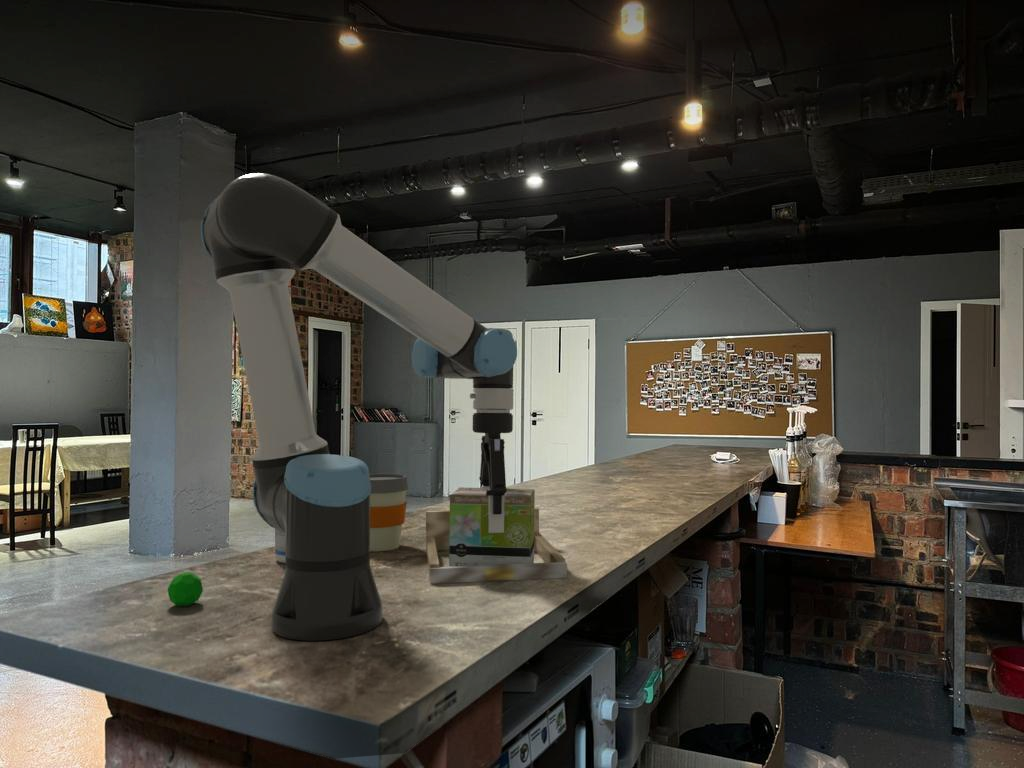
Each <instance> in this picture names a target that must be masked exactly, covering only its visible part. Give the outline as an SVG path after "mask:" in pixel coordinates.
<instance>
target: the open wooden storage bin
mask: <svg viewBox="0 0 1024 768" xmlns="http://www.w3.org/2000/svg"><path fill="white" fill-rule="evenodd" d="M449 516H450V509H447V510H446V509H445V510H425V553H426V560H427V568H428V577H429V583H430V585H431V584H452V583H453V584H455V583H457V584H458V583H479V582H480V583H481V582H496V581H497V582H499V581H501V582H502V581H520V580H547V579H548V580H549V579H565V578H566V579H567V578H568V576H567V575H568V571H567V569H568V567H567V566H568V564H567V562H566V558H565V557H564V556H563V555H562V554H561V553H560V552H559V551H558V550H557V549H556V547H554V546H553V545H552V544H551V543H550V542H549V541H548V540H547V539H546V538H545V536H543V535H542V534H541V533H540V508H539V507H535V508H534V552H535V553H536V554H537V555H538V557H540V558H541V560H542V561H543V562H536V563H535V562H534V563H527V564H502V565H477V566H453V567H449V566H440V561H439V556H438V551H449Z"/></svg>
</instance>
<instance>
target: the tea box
mask: <svg viewBox="0 0 1024 768" xmlns="http://www.w3.org/2000/svg"><path fill="white" fill-rule="evenodd" d="M506 488H507V487H506ZM487 490H490V488H481V487H466V486H465V487H463V486H462V487H458V488H457V489H456V490H455V491H454V492H453V493H451V494H450V495H449V510H450V516H449V550H448V567H453V566H477V565H502V564H527V563H535V561H534V560H535V550H534V508H536V507H535V506H536V505H535V502H536V501H535V499H536V498H535V488H534V489H533V488H507V491H506V493H505V494H504V533H489V532H488V516H489V496H486V491H487Z"/></svg>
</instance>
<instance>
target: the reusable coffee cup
mask: <svg viewBox="0 0 1024 768" xmlns="http://www.w3.org/2000/svg"><path fill="white" fill-rule="evenodd" d="M407 477H408V476H407V475H405V474H399V473H369V478H370V483H371V491H370V552H384V551H385V552H386V551H392V550H396V549H398V548H400V547H401V546H400V545H401V536H402V530H403V529H402V528H403V525H404V524H405V519H406V513H407V512H406V511H407V510H406V509H407V504H408V503H407V501H406V496H407V491H408V489H409V487H408V486H409V485H408V478H407Z"/></svg>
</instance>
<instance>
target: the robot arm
mask: <svg viewBox="0 0 1024 768" xmlns="http://www.w3.org/2000/svg"><path fill="white" fill-rule="evenodd" d="M200 235H201V236H200V237H201V242H202V245H203V248H204V250H205V251H206V253H207V255H208V256H209V258H210V259H211V260H212V264H213V268H214V274H215V278H216V279H215V280H216V283H217V284H218V285H220V286H221V287H223V288H224V289H226V290H227V291H228V293H229V295H230V300H231V305H232V310H233V315H234V321H235V325H236V326H235V327H236V331H237V337H238V341H239V347H240V351H241V356H242V362H243V366H244V371H245V377H246V381H247V387H248V392H249V397H250V402H251V403H250V404H251V408H252V413H253V418H254V422H255V427H256V432H257V438H258V447H257V448H256V450H255V451H254V453H253V454H252V456H251V461H252V469H253V473H254V478H255V479H254V482H253V486H252V501H253V504H254V507H255V509H256V512H257V513H258V515H259V517H260V518H261V519H262V520H263V521H264V522H265V523H266V524H267V525H268V526H270V528H274V530H275V529H277V530H278V531H281V532H285V556H286V563H284V564H285V567H284V568H285V569H284V575H283V578H282V580H281V585H280V588H279V590H278V594H277V595H276V600H275V602H274V606H273V608H272V609H273V610H272V613H271V629H272V632H273V633H274V634H275V635H277V636H279V637H283V638H286V639H290V640H297V641H328V640H329V641H331V640H338V639H343V638H349V637H353V636H357V635H361V634H363V633H367V632H369V631H372V630H373V629H375V628H377V627H378V626H380V624H381V623H382V621H383V603H382V600H381V599H382V598H381V596H380V593H379V590H378V587H377V584H376V581H375V578H374V575H373V572H372V569H371V551H370V491H371V483H370V478H369V474H370V471H369V466H368V465H367V463H365V461H363V460H362V459H359V458H357V457H353V456H348V455H345V456H343V455H340V454H330V450H329V445H328V441H327V440H325V439H324V438H322V437H320V436H319V435H318V434H317V433H316V429H315V423H314V419H313V413H312V408H311V400H310V397H309V391H308V386H307V380H306V377H305V376H306V375H305V369H304V364H303V359H302V355H301V349H300V348H301V347H300V344H299V343H300V342H299V339H298V337H299V336H298V332H297V327H296V322H295V321H296V320H295V316H294V311H293V306H292V300H291V295H290V290H289V283H290V281H291V280H292V279H293V277H294V276H295V275H296V268H298V269H299V270H301V271H305V270H309V269H310V270H314V271H315V272H317V273H319V274H320V275H321V276H323V277H324V278H326V279H328V280H330V281H331V282H332V283H334V284H335V285H336V286H338V287H340V288H341V289H342V290H344V291H345V292H348V293H349V294H350V295H352V296H353V297H355V298H356V299H358V300H359V301H361V302H363V303H364V304H366V305H367V306H369V307H371V308H372V309H373V310H375V311H376V312H377V313H379V314H381V315H383V316H384V317H386V318H387V319H388V320H390V321H392V322H393V323H395V324H396V325H397V326H399V327H401V328H403V330H406V331H407V332H409V333H410V334H411V335H413V336H414V337H416V338H417V339H416V340H415V342H414V345H413V347H412V352H411V363H412V368H413V370H414V372H415V374H416V375H417V376H419V377H421V378H429V379H433V380H435V379H449V380H450V379H451V380H452V379H453V380H455V379H456V380H457V379H463V380H465V379H467V380H472V384H473V385H472V388H473V389H472V391H473V393H470V394H469V398H470V399H473V401H472V408H473V410H474V411H475V410H476V411H475V412H473V414H472V431H473V432H474V433H476V434H484V435H482V437H481V443H480V451H481V454H480V457H481V458H480V471H479V478H478V480H479V482H480V485H481V486H480V488H490V490H487V491H486V496H489V516H488V532H489V533H504V494H505V493H506V491H507V487H506V486H507V483H506V465H505V463H506V462H505V443H506V441H505V439H503V438H501V437H502V436H501V434H511V433H512V432H513V428H514V425H513V424H514V422H513V421H514V415H513V414H512V412H511V411H512V410H513V409H514V365H515V364H516V361H517V357H518V347H517V346H518V345H517V344H516V343H517V342H516V341H515V338H514V336H513V333H512V332H511V330H509V329H506V328H495V327H493V328H492V327H491V328H490V327H485V326H484V325H483V324H481V322H479V321H476V320H475V319H474V318H472V316H470V315H468V314H466V313H465V312H464V311H463V310H462V309H460V308H458V307H457V306H455V304H453V303H452V302H451V301H448V300H447V299H446V298H444V297H443V296H442V295H440V294H439V293H437V292H436V291H435V290H433V289H432V288H431V287H429V286H428V285H426V284H425V283H424V282H422V281H421V280H419V279H418V278H416V277H415V276H413V275H412V274H411V273H409V272H408V271H406V270H405V269H404V268H402V267H401V266H400V265H398V264H397V263H396V262H394V261H392V260H391V259H390V258H388V257H387V256H385V255H384V254H383V253H382V252H380V251H379V250H377V249H376V248H374V247H373V246H371V245H370V244H368V243H367V242H366V241H364V240H363V239H362V238H360V237H359V236H357V235H356V234H354V232H352V231H350V229H348V228H346V227H345V226H344V225H342V221H341V217H340V214H339V213H337V212H336V211H335V210H333V209H332V208H330V207H329V206H328V205H326V204H325V203H324V202H322V201H321V200H319V199H318V198H316V197H315V196H313V195H312V194H311V193H309V192H308V191H306V190H304V189H302V188H301V187H299V186H298V185H295V184H294V183H292V182H291V181H289V180H286V179H284V178H282V177H279V176H277V175H274V174H270V173H262V172H261V173H260V172H257V173H255V172H254V173H248V174H245V175H242V176H239V177H237V178H236V179H234V180H232V181H231V182H229V184H228V185H227V186H226V187H225V188H224V189H223V191H222V192H221V194H219V196H217V198H215V199H214V200H213V201H212V202H211V203H210V204H209V205H208V207H207V208H206V210H205V212H204V215H203V218H202V221H201V225H200Z"/></svg>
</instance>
